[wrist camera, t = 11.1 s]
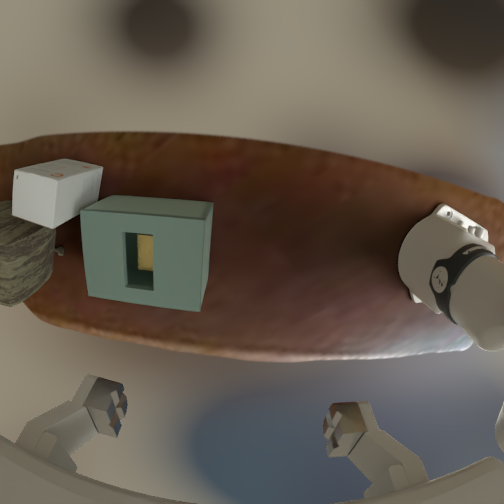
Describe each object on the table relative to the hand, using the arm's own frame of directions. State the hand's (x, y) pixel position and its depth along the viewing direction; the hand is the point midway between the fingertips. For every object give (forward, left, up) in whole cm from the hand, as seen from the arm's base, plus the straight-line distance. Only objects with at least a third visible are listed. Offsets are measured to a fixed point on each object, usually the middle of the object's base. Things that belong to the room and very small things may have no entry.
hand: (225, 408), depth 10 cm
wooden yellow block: (+12, +6, -34) cm, 36 cm away
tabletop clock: (+35, +6, -35) cm, 49 cm away
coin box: (+12, +6, -35) cm, 37 cm away
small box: (+26, -2, -35) cm, 43 cm away
